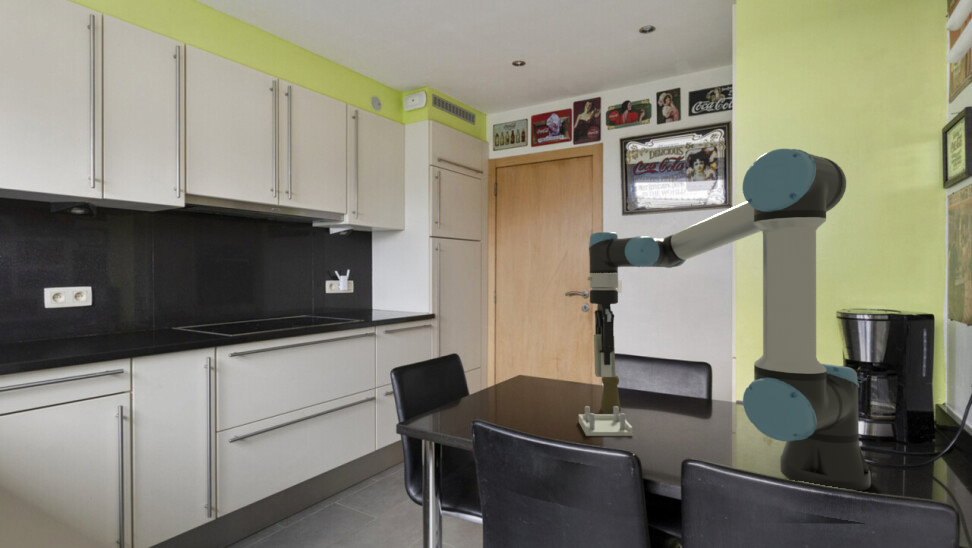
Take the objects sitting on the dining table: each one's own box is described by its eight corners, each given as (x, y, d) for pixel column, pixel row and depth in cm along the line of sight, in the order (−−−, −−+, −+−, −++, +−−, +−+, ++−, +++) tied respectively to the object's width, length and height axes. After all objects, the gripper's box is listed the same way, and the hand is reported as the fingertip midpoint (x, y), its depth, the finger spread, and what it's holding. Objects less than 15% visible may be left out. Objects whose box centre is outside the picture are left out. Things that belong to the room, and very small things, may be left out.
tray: (632, 435, 124) (632, 416, 124) (586, 435, 125) (586, 416, 125) (621, 422, 136) (620, 404, 136) (578, 422, 137) (578, 404, 137)
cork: (600, 411, 147) (599, 375, 147) (601, 406, 153) (600, 372, 153) (620, 413, 145) (620, 376, 146) (621, 408, 151) (620, 373, 151)
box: (613, 374, 133) (612, 334, 133) (615, 377, 128) (615, 335, 128) (593, 373, 133) (593, 333, 133) (595, 377, 129) (595, 335, 129)
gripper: (584, 288, 140) (585, 368, 140) (596, 290, 122) (596, 381, 122) (610, 288, 140) (610, 368, 139) (625, 289, 122) (626, 381, 122)
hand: (604, 374), depth 131 cm, fingers closed on box, 4 cm apart
